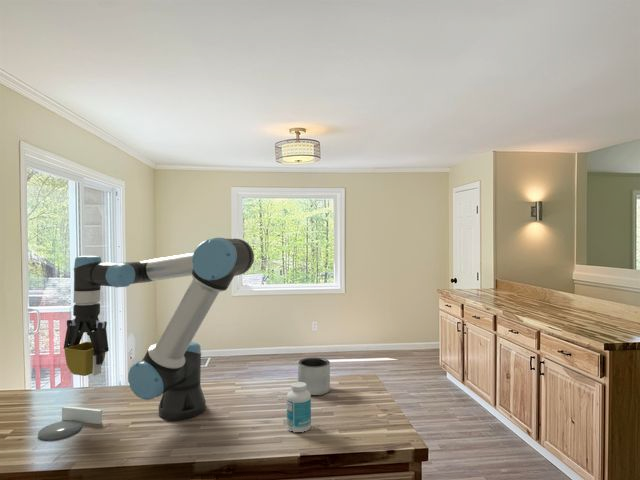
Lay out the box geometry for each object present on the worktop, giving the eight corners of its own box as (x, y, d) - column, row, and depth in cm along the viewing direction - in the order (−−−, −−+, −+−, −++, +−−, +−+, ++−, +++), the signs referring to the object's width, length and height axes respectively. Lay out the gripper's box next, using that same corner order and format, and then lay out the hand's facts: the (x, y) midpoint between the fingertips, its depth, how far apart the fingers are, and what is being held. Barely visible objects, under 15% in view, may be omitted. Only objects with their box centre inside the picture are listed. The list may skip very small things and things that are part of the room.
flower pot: (85, 379, 122) (85, 350, 122) (62, 376, 124) (63, 348, 124) (107, 370, 130) (107, 343, 130) (85, 367, 132) (86, 341, 132)
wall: (102, 422, 124) (102, 409, 124) (99, 423, 123) (99, 411, 123) (64, 418, 126) (64, 406, 126) (61, 419, 125) (62, 407, 125)
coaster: (90, 424, 122) (90, 422, 122) (60, 442, 111) (60, 439, 111) (60, 421, 124) (60, 418, 124) (28, 438, 113) (28, 435, 114)
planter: (294, 395, 146) (294, 366, 146) (301, 383, 159) (301, 356, 159) (327, 398, 144) (327, 367, 144) (332, 385, 157) (332, 358, 157)
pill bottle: (314, 424, 123) (314, 381, 123) (305, 435, 116) (306, 390, 116) (292, 421, 125) (292, 379, 125) (282, 431, 118) (283, 386, 118)
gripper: (122, 303, 128) (121, 372, 128) (71, 299, 133) (69, 366, 133) (104, 306, 121) (102, 380, 121) (50, 302, 126) (49, 373, 126)
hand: (85, 372), depth 127 cm, fingers closed on flower pot, 8 cm apart
